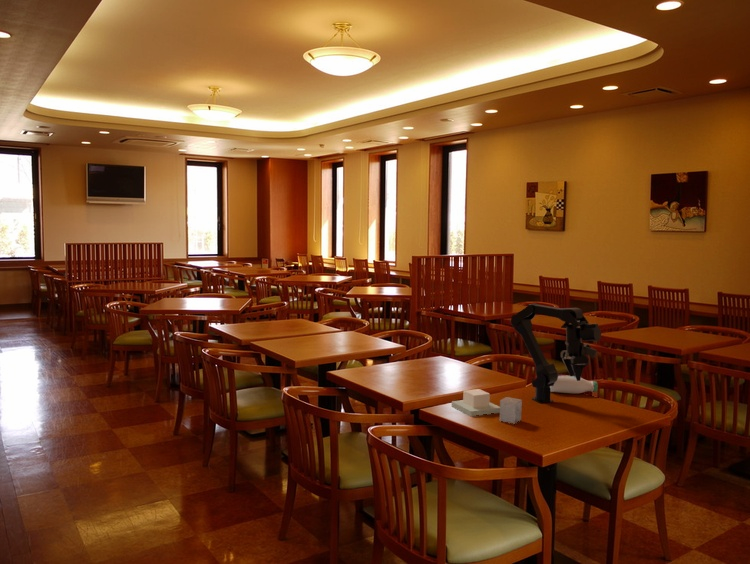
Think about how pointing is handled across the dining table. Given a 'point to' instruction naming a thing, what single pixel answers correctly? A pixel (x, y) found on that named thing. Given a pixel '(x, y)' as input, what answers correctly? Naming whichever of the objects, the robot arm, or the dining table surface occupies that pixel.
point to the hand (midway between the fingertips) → (575, 378)
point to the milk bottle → (573, 385)
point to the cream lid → (476, 398)
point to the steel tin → (510, 410)
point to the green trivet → (475, 411)
